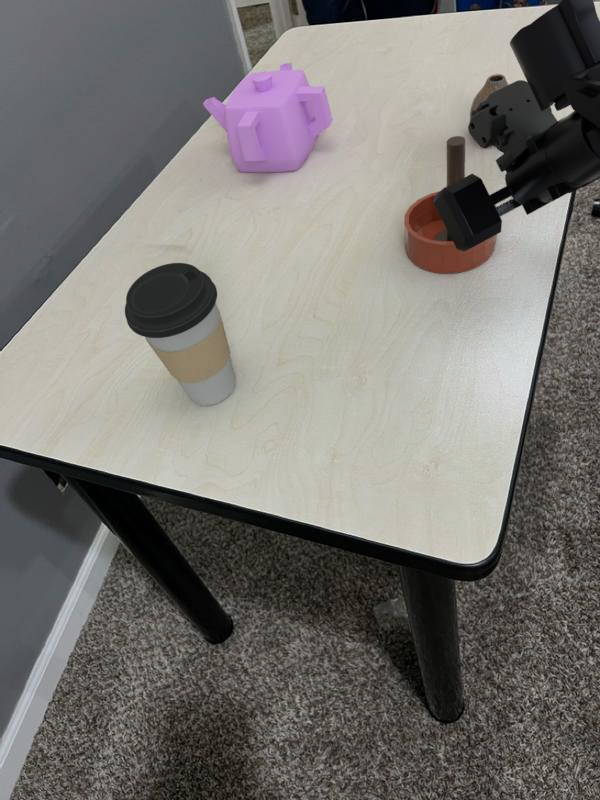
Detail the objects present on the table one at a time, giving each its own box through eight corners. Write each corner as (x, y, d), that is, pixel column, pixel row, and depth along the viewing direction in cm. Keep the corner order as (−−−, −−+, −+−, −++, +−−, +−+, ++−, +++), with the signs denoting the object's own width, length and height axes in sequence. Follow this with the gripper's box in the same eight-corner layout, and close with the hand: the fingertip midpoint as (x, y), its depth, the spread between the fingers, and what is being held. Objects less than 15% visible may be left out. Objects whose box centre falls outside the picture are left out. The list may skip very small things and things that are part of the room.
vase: (526, 138, 89) (532, 77, 82) (485, 154, 88) (488, 95, 82) (499, 120, 93) (503, 61, 87) (460, 136, 93) (461, 78, 86)
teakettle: (256, 191, 94) (235, 114, 85) (215, 152, 105) (192, 79, 95) (348, 148, 97) (337, 68, 88) (298, 114, 108) (284, 40, 98)
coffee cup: (265, 367, 70) (229, 266, 58) (222, 429, 65) (174, 332, 54) (201, 349, 74) (155, 251, 62) (156, 406, 69) (98, 311, 58)
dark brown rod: (483, 242, 75) (489, 136, 65) (457, 262, 74) (458, 157, 63) (452, 228, 78) (453, 124, 67) (426, 248, 77) (423, 145, 66)
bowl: (477, 210, 80) (478, 180, 77) (509, 260, 73) (512, 229, 70) (396, 232, 81) (393, 203, 77) (420, 283, 74) (419, 253, 70)
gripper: (617, 24, 52) (518, 110, 68) (445, 108, 49) (381, 178, 64) (670, 140, 53) (560, 198, 69) (504, 230, 50) (428, 270, 65)
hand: (484, 209), depth 67 cm, fingers open, 9 cm apart
